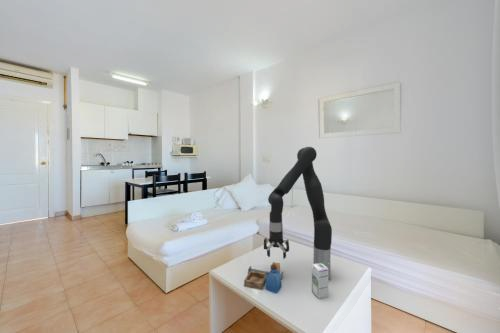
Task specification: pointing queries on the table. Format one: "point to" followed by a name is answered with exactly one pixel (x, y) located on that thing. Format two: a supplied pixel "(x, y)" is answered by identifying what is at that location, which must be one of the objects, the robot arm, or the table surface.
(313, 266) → the syrup box
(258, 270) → the rail
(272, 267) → the perfume bottle
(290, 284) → the table surface
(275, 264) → the tan rectangular block
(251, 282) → the tray
